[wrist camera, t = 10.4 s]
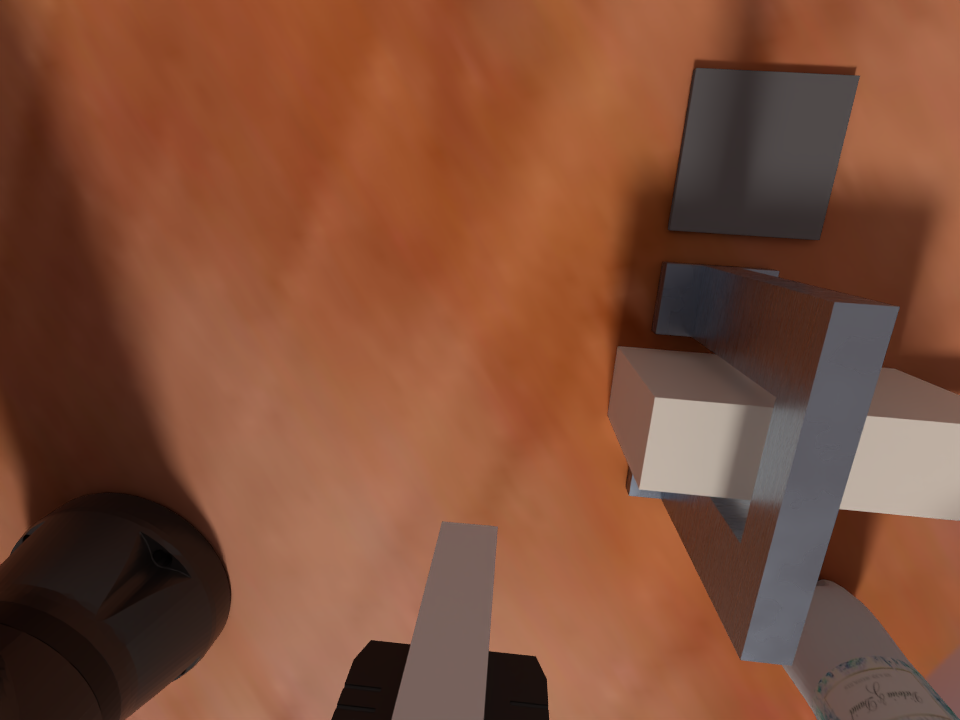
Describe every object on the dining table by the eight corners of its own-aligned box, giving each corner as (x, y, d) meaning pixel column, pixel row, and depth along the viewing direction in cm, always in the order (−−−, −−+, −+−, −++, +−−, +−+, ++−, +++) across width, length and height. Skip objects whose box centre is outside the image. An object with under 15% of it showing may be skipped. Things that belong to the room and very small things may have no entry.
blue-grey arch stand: (625, 487, 33) (689, 654, 20) (662, 261, 29) (770, 297, 16) (720, 496, 32) (843, 671, 20) (770, 269, 28) (965, 311, 16)
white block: (607, 414, 32) (639, 489, 23) (617, 345, 30) (655, 397, 22) (940, 444, 31) (1105, 535, 22) (965, 373, 29) (1150, 440, 21)
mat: (667, 229, 28) (669, 230, 28) (693, 70, 26) (696, 67, 26) (815, 239, 28) (819, 240, 27) (854, 77, 26) (859, 75, 25)
